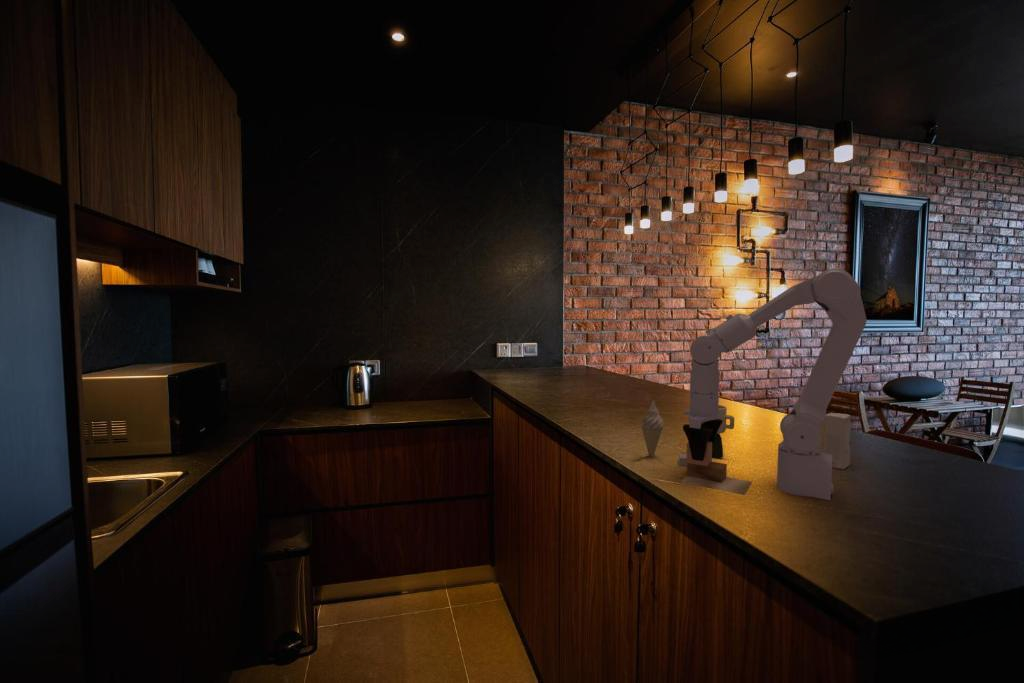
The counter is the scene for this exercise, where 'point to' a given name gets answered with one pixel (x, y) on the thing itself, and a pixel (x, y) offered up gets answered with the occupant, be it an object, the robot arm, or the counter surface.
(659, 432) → the ice cream cone
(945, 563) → the counter surface
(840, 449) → the skincare box
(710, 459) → the terracotta cube
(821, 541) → the counter surface
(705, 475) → the walnut bar
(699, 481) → the birch board
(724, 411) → the character mug
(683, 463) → the grey block
